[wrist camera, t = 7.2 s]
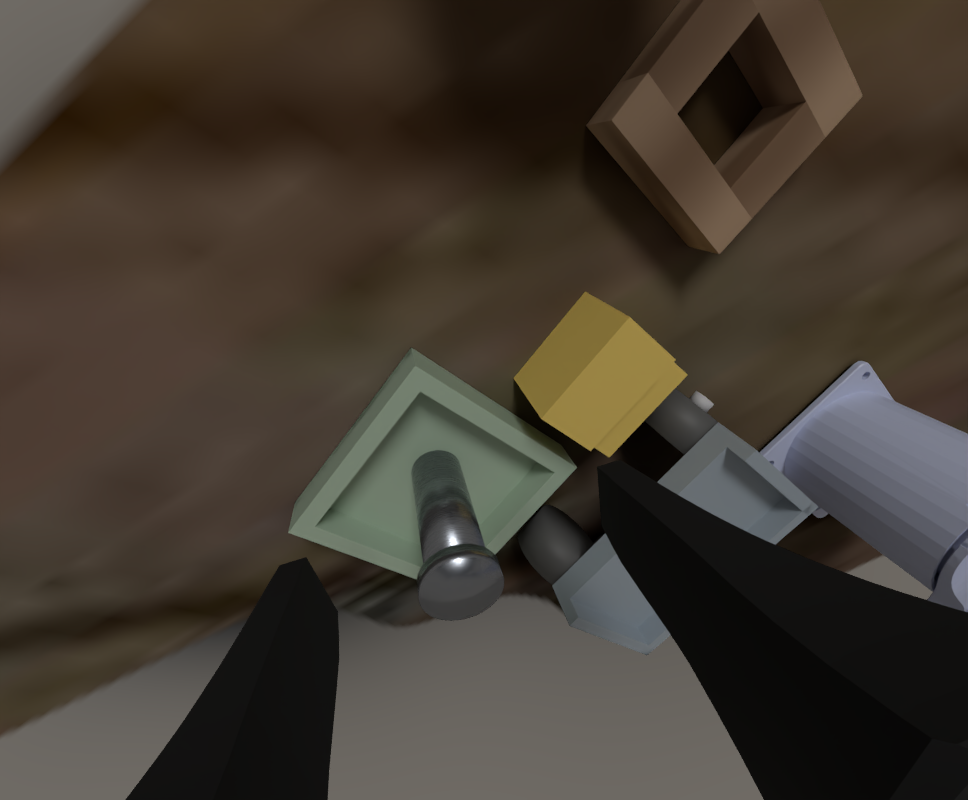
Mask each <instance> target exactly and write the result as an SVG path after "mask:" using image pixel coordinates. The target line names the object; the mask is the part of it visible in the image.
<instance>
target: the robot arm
mask: <svg viewBox="0 0 968 800" xmlns="http://www.w3.org/2000/svg"><path fill="white" fill-rule="evenodd" d="M759 453H760V454H761V455H762V456H763V457H765V458H766V459H767V460H768V461H769V462H770V463H771V464H772V465H773V466H774V467H775V468H777V469H778V470H779V471H780V472H781V473H782V474H783V475H784V476H785V477H786V478H787V479H789V480H790V481H791V482H792V483H793V484H794V485H795V486H796V487H797V488H798V489H799V490H801V491H802V492H803V493H804V494H805V495H806V496H807V497H808V498H809V499H810V500H811V501H813V502H814V503H815V504H816V505H817V506H818V508H817V509H816V510H815V511H814V512H812V514H813V515H815V516H816V517H817V518H823V517H825V516H826V515H827V514H828V513H829V514H830V515H831V516H833V517H834V518H835V519H837V520H838V521H839V522H841V523H842V524H843V525H845V526H846V527H847V528H849V529H850V530H851V531H853V532H854V533H855V534H857V535H858V536H859V537H861V538H862V539H863V540H865V541H866V542H867V543H869V544H870V545H871V546H873V547H874V548H875V549H876V550H878V551H879V552H880V553H882V554H883V555H884V556H886V557H887V558H889V559H890V560H891V561H893V562H894V563H895V564H897V565H898V566H899V567H900V568H902V569H903V570H904V571H906V572H907V573H909V574H910V575H911V576H912V577H914V578H915V579H917V580H918V581H919V582H921V583H922V584H923V585H924V586H926V587H927V588H928V589H930V590H931V591H933V593H932V594H931V596H930V597H929V598H928V599H927V600H924V599H921V598H918V597H914V596H912V595H908V594H905V593H902V592H899V591H896V590H893V589H890V588H886V587H884V586H881V585H878V584H875V583H872V582H869V581H866V580H863V579H861V578H858V577H855V576H853V575H850V574H847V573H844V572H842V571H839V570H836V569H833V568H831V567H828V566H825V565H823V564H820V563H818V562H815V561H813V560H810V559H808V558H805V557H803V556H800V555H798V554H796V553H793V552H791V551H789V550H786V549H784V548H782V547H779V546H777V545H775V544H773V543H770V542H768V541H766V540H764V539H761V538H759V537H757V536H755V535H753V534H751V533H749V532H747V531H745V530H743V529H741V528H739V527H737V526H735V525H733V524H731V523H729V522H727V521H725V520H723V519H721V518H719V517H717V516H715V515H713V514H711V513H709V512H708V511H706V510H704V509H702V508H700V507H699V506H697V505H695V504H693V503H692V502H690V501H688V500H686V499H684V498H683V497H681V496H679V495H677V494H676V493H674V492H672V491H671V490H669V489H667V488H666V487H664V486H662V485H661V484H659V483H657V482H656V481H654V480H652V479H651V478H649V477H648V476H646V475H644V474H643V473H641V472H639V471H638V470H636V469H634V468H633V467H631V466H629V465H628V464H626V463H624V462H623V461H621V460H618V461H614V462H611V463H608V464H605V465H602V466H598V467H597V471H598V485H599V498H600V512H601V525H602V527H603V529H604V531H605V533H606V535H607V537H608V539H609V541H610V543H611V545H612V547H613V549H614V550H615V552H616V554H617V556H618V558H619V560H620V562H621V563H622V565H623V566H624V568H625V569H626V571H627V572H628V573H629V575H630V576H631V578H632V579H633V581H634V582H635V584H636V585H637V587H638V588H639V590H640V591H641V593H642V594H643V595H644V597H645V598H646V600H647V601H648V603H649V604H650V606H651V607H652V608H653V610H654V611H655V613H656V614H657V616H658V617H659V619H660V620H661V622H662V623H663V624H664V626H665V627H666V629H667V630H668V632H669V633H670V635H671V636H672V637H673V639H674V640H675V642H676V643H677V645H678V646H679V648H680V649H681V651H682V653H683V654H684V656H685V657H686V659H687V660H688V662H689V663H690V665H691V667H692V669H693V671H694V672H695V674H696V676H697V678H698V679H699V681H700V683H701V685H702V686H703V688H704V690H705V692H706V694H707V695H708V697H709V699H710V700H711V702H712V704H713V706H714V708H715V709H716V711H717V713H718V715H719V716H720V719H721V720H722V722H723V724H724V726H725V727H726V729H727V731H728V733H729V735H730V737H731V739H732V740H733V742H734V744H735V746H736V747H737V750H738V751H739V753H740V755H741V757H742V759H743V761H744V763H745V765H746V766H747V768H748V770H749V772H750V774H751V776H752V778H753V780H754V782H755V784H756V785H757V787H758V789H759V791H760V793H761V795H762V797H763V799H764V800H968V434H967V433H965V432H962V431H960V430H958V429H956V428H953V427H951V426H949V425H947V424H944V423H942V422H940V421H938V420H935V419H933V418H931V417H928V416H926V415H924V414H922V413H919V412H917V411H915V410H913V409H910V408H908V407H906V406H904V405H901V404H899V403H897V402H895V401H894V400H893V398H892V397H891V395H890V394H889V392H888V391H887V389H886V388H885V386H884V385H883V384H882V382H881V381H880V379H879V378H878V376H877V375H876V373H875V372H874V370H873V369H872V367H871V366H870V364H868V363H866V362H864V361H858V362H856V363H854V364H853V365H852V366H851V367H850V368H849V369H848V370H847V371H846V372H845V373H844V374H842V375H841V376H840V377H839V378H838V379H837V380H836V381H835V382H834V383H833V384H832V385H831V386H830V387H829V388H828V389H826V390H825V391H824V392H823V393H822V394H821V395H820V396H819V397H818V398H817V399H816V400H815V401H814V402H813V403H812V404H810V405H809V406H808V407H807V408H806V409H805V410H804V411H803V412H802V413H801V414H800V415H799V416H798V417H797V418H796V419H794V420H793V421H792V422H791V423H790V424H789V425H788V426H787V427H786V428H785V429H784V430H783V431H782V432H781V433H779V434H778V435H777V436H776V437H775V438H774V439H773V440H772V441H771V442H770V443H769V444H768V445H767V446H766V447H765V448H763V449H762V450H761V451H760V452H759ZM338 665H339V630H338V611H337V609H336V608H335V606H334V604H333V603H332V601H331V599H330V597H329V596H328V594H327V592H326V590H325V589H324V587H323V585H322V584H321V582H320V580H319V578H318V577H317V575H316V573H315V572H314V570H313V568H312V566H311V565H310V563H309V561H308V559H307V558H306V557H305V558H302V559H299V560H296V561H292V562H289V563H286V564H283V565H280V566H279V567H278V569H277V571H276V572H275V574H274V576H273V577H272V579H271V581H270V582H269V584H268V586H267V587H266V589H265V591H264V593H263V594H262V596H261V598H260V599H259V601H258V603H257V605H256V606H255V608H254V610H253V611H252V613H251V615H250V616H249V618H248V620H247V622H246V623H245V625H244V627H243V628H242V630H241V632H240V633H239V635H238V637H237V638H236V640H235V642H234V643H233V645H232V647H231V648H230V650H229V651H228V653H227V655H226V656H225V658H224V660H223V661H222V663H221V665H220V666H219V668H218V669H217V671H216V672H215V674H214V676H213V677H212V679H211V680H210V682H209V683H208V685H207V686H206V688H205V689H204V691H203V692H202V694H201V696H200V697H199V699H198V700H197V702H196V703H195V705H194V706H193V708H192V709H191V711H190V712H189V714H188V715H187V717H186V718H185V720H184V721H183V723H182V724H181V725H180V727H179V728H178V730H177V731H176V733H175V734H174V735H173V737H172V738H171V740H170V741H169V742H168V744H167V745H166V746H165V748H164V750H163V751H162V752H161V753H160V755H159V756H158V758H157V759H156V760H155V762H154V763H153V764H152V765H151V767H150V768H149V769H148V771H147V772H146V773H145V775H144V776H143V777H142V779H141V780H140V781H139V783H138V784H137V785H136V787H135V788H134V789H133V791H132V792H131V794H130V795H129V796H128V797H127V798H126V800H327V799H328V780H329V765H330V755H331V744H332V733H333V721H334V711H335V700H336V689H337V677H338Z"/></svg>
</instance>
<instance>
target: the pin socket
mask: <svg viewBox="0 0 968 800" xmlns="http://www.w3.org/2000/svg"><path fill="white" fill-rule="evenodd" d="M728 50H729V52H730V54H731V55H732V57H733V59H734V60H735V62H736V64H737V65H738V67H739V69H740V70H741V72H742V74H743V76H744V77H745V79H746V81H747V82H748V84H749V86H750V87H751V89H752V91H753V92H754V94H755V96H756V97H757V99H758V101H759V103H760V104H761V106H762V108H763V109H762V110H761V111H760V112H759V113H758V115H757V116H756V117H755V118H754V119H753V120H752V122H751V123H750V124H749V125H748V126H747V127H746V129H745V130H744V131H743V132H742V133H741V134H740V136H739V137H738V138H737V139H736V140H735V142H734V143H733V144H732V145H731V146H730V147H729V149H728V150H727V151H726V152H725V153H724V154H723V156H722V157H721V158H720V159H719V160H718V161H717V163H716V164H715V165H713V163H712V162H711V161H710V159H709V158H708V156H707V155H706V154H705V152H704V151H703V149H702V148H701V146H700V145H699V144H698V142H697V141H696V139H695V138H694V137H693V135H692V134H691V132H690V131H689V130H688V128H687V127H686V125H685V124H684V123H683V121H682V120H681V118H680V117H679V116H678V112H679V111H680V110H681V109H682V107H683V106H684V105H685V104H686V102H687V101H688V100H689V99H690V97H691V96H692V95H693V94H694V92H695V91H696V90H697V89H698V87H699V86H700V85H701V84H702V83H703V81H704V80H705V79H706V78H707V76H708V75H709V74H710V73H711V71H712V70H713V69H714V68H715V66H716V65H717V64H718V63H719V61H720V60H721V59H722V58H723V56H724V55H725V54H726V53H727V51H728ZM862 96H863V95H862V93H861V91H860V88H859V86H858V84H857V82H856V80H855V77H854V75H853V73H852V71H851V69H850V66H849V64H848V62H847V60H846V58H845V56H844V53H843V51H842V49H841V47H840V45H839V42H838V40H837V38H836V36H835V34H834V31H833V29H832V27H831V25H830V23H829V20H828V18H827V16H826V14H825V12H824V9H823V7H822V5H821V3H820V1H819V0H680V2H679V3H678V4H677V5H676V7H675V8H674V9H673V11H672V12H671V13H670V15H669V16H668V17H667V19H666V20H665V21H664V23H663V24H662V25H661V27H660V28H659V29H658V31H657V32H656V33H655V35H654V36H653V37H652V39H651V40H650V41H649V43H648V44H647V45H646V47H645V48H644V49H643V51H642V52H641V53H640V55H639V56H638V57H637V59H636V60H635V61H634V62H633V64H632V65H631V66H630V68H629V69H628V70H627V72H626V73H625V74H624V76H623V77H622V78H621V80H620V81H619V82H618V84H617V85H616V86H615V88H614V89H613V90H612V92H611V93H610V94H609V96H608V97H607V98H606V100H605V101H604V102H603V104H602V105H601V106H600V108H599V109H598V110H597V112H596V113H595V114H594V116H593V117H592V118H591V119H590V121H589V122H588V123H587V125H586V126H587V127H588V129H589V130H590V131H591V132H592V133H593V135H594V136H595V137H596V138H597V139H598V140H599V142H600V143H601V144H602V145H603V146H604V148H605V149H606V150H607V151H608V152H609V153H610V155H611V156H612V157H613V158H614V159H615V161H616V162H617V163H618V164H619V165H620V166H621V168H622V169H623V170H624V171H625V172H626V174H627V175H628V176H629V177H630V178H631V180H632V181H633V182H634V183H635V184H636V185H637V187H638V188H639V189H640V190H641V191H642V193H643V194H644V195H645V196H646V197H647V198H648V200H649V201H650V202H651V203H652V204H653V206H654V207H655V208H656V209H657V210H658V211H659V213H660V214H661V215H662V216H663V217H664V219H665V220H666V221H667V222H668V223H669V224H670V226H671V227H672V228H673V229H674V230H675V232H676V233H677V234H678V235H679V236H680V238H681V239H682V240H683V241H684V242H685V243H686V245H687V246H688V247H691V248H695V249H699V250H704V251H708V252H712V253H716V254H720V253H721V252H722V251H723V250H724V249H725V248H726V247H727V246H728V244H729V243H730V242H731V241H732V240H733V239H734V238H735V237H736V236H737V234H738V233H739V232H740V231H741V230H742V229H743V228H744V227H745V226H746V225H747V223H748V222H749V221H750V220H751V219H752V218H753V217H754V216H755V215H756V213H757V212H758V211H759V210H760V209H761V208H762V207H763V206H764V205H765V204H766V202H767V201H768V200H769V199H770V198H771V197H772V196H773V195H774V194H775V192H776V191H777V190H778V189H779V188H780V187H781V186H782V185H783V184H784V182H785V181H786V180H787V179H788V178H789V177H790V176H791V175H792V174H793V173H794V171H795V170H796V169H797V168H798V167H799V166H800V165H801V164H802V163H803V161H804V160H805V159H806V158H807V157H808V156H809V155H810V154H811V153H812V152H813V150H814V149H815V148H816V147H817V146H818V145H819V144H820V143H821V142H822V140H823V139H824V138H825V137H826V136H827V135H828V134H829V133H830V132H831V131H832V129H833V128H834V127H835V126H836V125H837V124H838V123H839V122H840V121H841V119H842V118H843V117H844V116H845V115H846V114H847V113H848V112H849V111H850V109H851V108H852V107H853V106H854V105H855V104H856V103H857V102H858V101H859V100H860V98H861V97H862Z"/></svg>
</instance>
